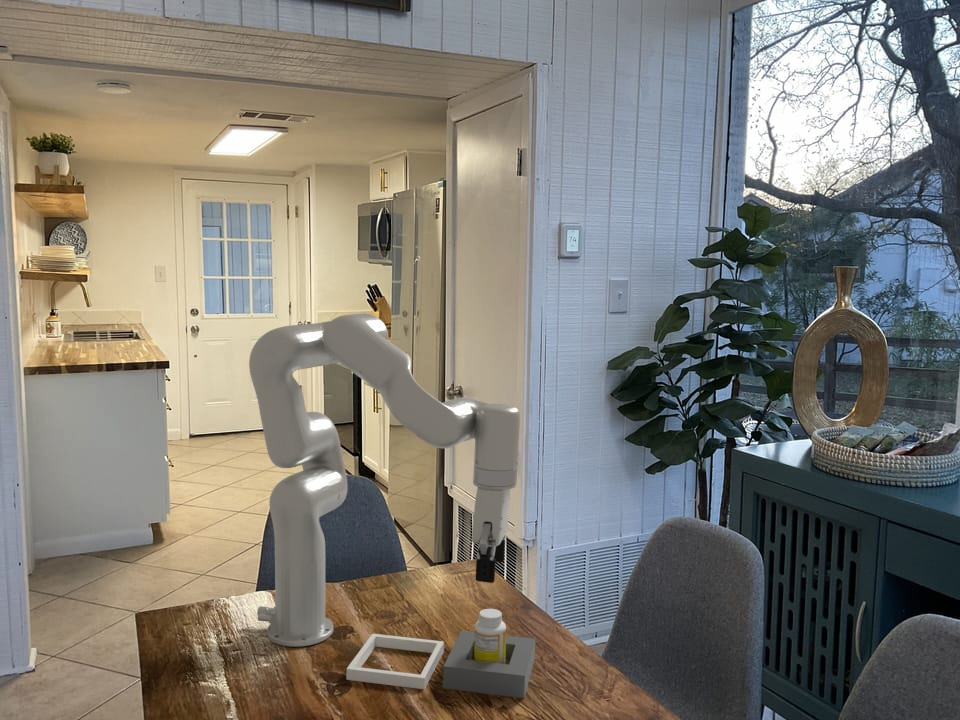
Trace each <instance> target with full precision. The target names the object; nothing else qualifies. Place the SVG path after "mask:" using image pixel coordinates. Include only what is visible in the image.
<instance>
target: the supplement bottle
mask: <svg viewBox="0 0 960 720" xmlns="http://www.w3.org/2000/svg"><path fill="white" fill-rule="evenodd" d="M478 614H479V615H478V620H477V621H476V622H475V624H474V632H475V640H474V641H475V642H474V661H482V662H491V663H500V664H505V657H506V636H507V626H506V623H505V622H504V621H503V618H502V617H503V614H502V612H501V611H500V610H499V609H495V608H485V609H481V610H480V611H479V613H478Z"/></svg>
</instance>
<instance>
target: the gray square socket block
mask: <svg viewBox="0 0 960 720" xmlns="http://www.w3.org/2000/svg"><path fill="white" fill-rule="evenodd" d="M474 640H475V631H466V630H461V631H460V632H459V635H457V638H456V640H455V642H454V643H453V646H452V647H451V651H450V652H449V654H448V656H447V659H446V660H445V662H444V664H443V672H442V673H443V675H442V679H443V680H442V688H443V689H444V690H451V691H462V692H468V693H478V694H486V695H491V696H493V695H494V696H502V697H509V698H516V699H525V697H526V695H527V691H528V686H529V682H530V678H531V674H532V672H533V667H534V665H535V660H536V638H531V637H522V636H521V637H520V636H513V635H506V657H505V664H500V663H491V662H482V661H474V642H475V641H474Z"/></svg>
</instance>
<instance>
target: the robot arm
mask: <svg viewBox="0 0 960 720" xmlns="http://www.w3.org/2000/svg"><path fill="white" fill-rule="evenodd" d="M248 361H249V362H248V365H249V375H250V378H251V382H252V386H253V388H254V391H255V396H256V399H257V404H258V409H259V415H260V420H261V421H260V422H261V425H262V430H263V437H264V441H265V446H266V451H267V455H268V457H269V459H270V461H271V463H272V464H273V465H274V466H276V467H277V468H281V469H292V468H296V467H299V466H301V467H302V470H301V471H299V472H295V473H294V474H290V475H289V476H287V477H285V478H283V479H282V480H281V481H279V482H278V483H277V484H276V485H275V486H274V487H273V489H272V491H271V494H270V497H269V502H268V503H269V512H270V516H271V521H272V527H273V536H274V571H275V572H274V582H275V583H274V584H275V585H274V586H275V587H274V592H275V593H274V594H275V596H274V603H275V606H274V607H269V606H259V607H258V609H257V614H256V615H257V621H258V622H268V623H269V625H268V627H267V629H266V633H267V636H266V637H267V639H269V641H271V642H272V643H274V644H276V645H280V646H283V647H293V648H295V647H308V646H312V645H316V644H320V643H322V642H324V641H326V640H327V639H328V638H329V637H331V636H332V635H333V633H334V623H333V621H332V620H331V619H330V618H328V617H326V540H325V534H324V532H323V530H322V527H321V523H320V518H321V517H322V516H324V515H326V514H327V513H331V511H334V510H336V509H337V508H339V507H340V506H341V505H342V504H343V503H344V501H345V500H346V497H347V496H348V495H347V494H348V489H349V488H348V487H349V486H348V479H347V478H348V477H347V471H346V468H345V467H346V466H345V461H344V456H343V452H342V451H343V450H342V445H341V441H340V436H339V433H338V430H337V428H336V426H335V424H334V423H333V421H332V420H331V418H329V417H328V416H327V415H325V414H323V413H321V412H318V411H309V412H308V411H307V408H306V404H305V397H304V394H303V391H302V389H301V387H300V384H299V383H298V381H297V380H296V379H295V377H294V375H293V373H294V372H296V371H300V370H307V369H311V368H317V367H324V366H327V365H328V366H329V365H332V364H333V365H334V364H340V365H342V366H344V367H345V368H346V369H348V370H349V371H351V373H353V374H354V375H356V376H357V378H358V377H359V378H360V379H361V380H362V381H364V382H365V383H366V384H368V385H369V386H370V387H372V388H373V389H374V390H375V391H377V392H378V393H379V394H380V396H381V397H382V400H383V401H384V404H385V405H386V407H387V408H388V410H389V412H390V413H391V414H392V415H393V417H394V418H395V419H396V420H397V422H399V423H400V425H402V426H403V427H404V428H405V429H407V430H408V431H409V432H411V433H412V434H413V435H415V436H416V437H417V438H419V439H420V440H421V441H423V442H424V443H426V444H427V445H430V446H432V447H434V448H438V449H450V448H452V447H456V446H457V445H459V444H461V443H463V442H466V441H471V440H475V441H474V454H473V455H474V456H473V457H474V460H473V477H472V478H473V479H472V484H473V485H474V486H475V487H477V489H476V494H475V495H476V496H475V501H474V511H473V521H472V523H473V524H472V535H471V542H472V543H473V545H475V544H477V543H478V547H477V548H478V549H477V554H476V558H475V559H476V560H475V561H476V562H475V581H476V582H480V583H490V584H493V583H495V580H496V579H495V578H496V577H495V576H496V563H503V562H504V561H505V548H506V540H505V537H506V533H507V532H508V531H507V530H508V526H509V525H508V524H509V516H510V515H509V514H510V496H511V494H510V493H511V489H513V488H516V487H517V481H518V480H517V479H518V478H517V477H518V462H519V458H518V457H519V445H520V428H521V427H520V426H521V413H520V411H519V409H518V408H517V407H515V406H513V405H510V404H506V403H502V404H501V403H487V402H483V401H481V400H477V399H474V398H469V397H455V398H454V399H451V400H447V401H444V402H442V401H440V400H438V399H437V398H436V397H434V396H433V395H432V394H430V393H429V392H428V391H426V390H425V389H424V387H422V386H421V385H420V384H419V383H418V382H417V381H416V379H414V376H413V374H412V371H411V370H412V367H413V361H412V358H411V357H410V355H409V354H408V353H406V352H405V351H404V350H402V349H401V348H399V347H398V346H397V345H395V344H394V343H392V342H391V341H389V330H388V328H387V327H386V324H385V323H384V322H383V320H381V319H380V318H379V317H377V316H375V314H374V315H373V314H371V313H353V314H345V315H340V316H337V317H335V318H333V319H332V320H329V321H322V322H317V323H305V324H294V325H293V324H292V325H291V324H290V325H285V326H280V327H277V328H274V329H272V330H269V331H267V332H266V333H264V334H263V335H261V336H260V337H259V338H258V339H257V341H255V343H254V345H253V347H252V348H251V351H250V355H249V360H248Z"/></svg>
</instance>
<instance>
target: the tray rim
mask: <svg viewBox="0 0 960 720" xmlns="http://www.w3.org/2000/svg"><path fill="white" fill-rule="evenodd" d="M375 648H386V649H395V650H402V651H412V652H421V653H428V654H429V653H430V654H431V655H430V656H429V659H428V661H426V663H425V665H424V667H423V670H422V671H421V673H420V674H417V673H411V672H410V673H409V672H408V673H407V672H402V671H401V672H400V671H392V670H386V669H385V670H384V669H377V668H367V667H363V665H364V664H365V663H366V662H367V659H368V658H369V657H370V656H371V654H372V653H373V651H374V650H375ZM444 652H445V641H440V640H433V639H423V638H415V637H406V636H398V635H391V634H390V635H387V634H381V633H380V634H378V633H372V634H371V635H370V636H369V638H368V639H367V640H366V642H365V643H364V644H363V645H362V647H361V648H360V650H359V651H358V653H357V654H356V655H355V656H354V658H353V659H352V661H351V662H350V663H349V665H348V666H347V668H346V680H348V681H355V682H361V683H362V682H364V683H371V684H379V685H387V686H388V685H389V686H395V687H402V688H403V687H404V688H411V689H419V690H426V687H428V683H429V681H430V680H431V677H432V676H433V674H434V672H435V669H436V668H437V666H438V664H439V662H440V661H441V658H442V657H443V654H444Z"/></svg>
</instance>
